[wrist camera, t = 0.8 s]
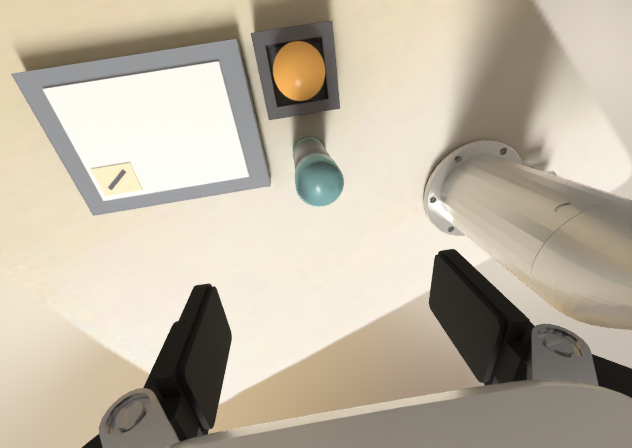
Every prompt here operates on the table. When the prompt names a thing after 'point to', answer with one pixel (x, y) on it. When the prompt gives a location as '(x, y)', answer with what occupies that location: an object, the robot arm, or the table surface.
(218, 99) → the drawing board
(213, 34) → the table surface
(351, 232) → the table surface
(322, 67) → the button
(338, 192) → the marker
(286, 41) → the button housing
